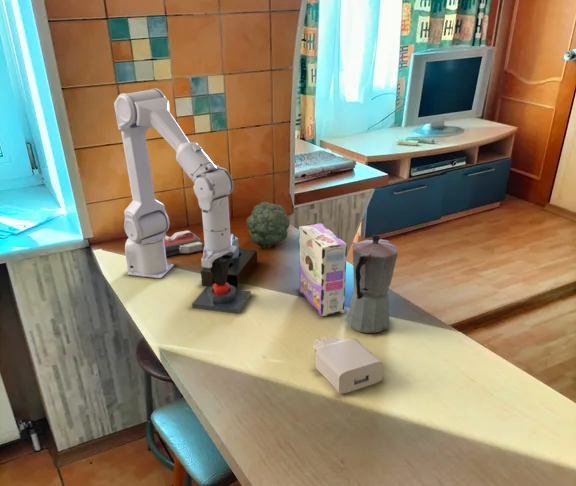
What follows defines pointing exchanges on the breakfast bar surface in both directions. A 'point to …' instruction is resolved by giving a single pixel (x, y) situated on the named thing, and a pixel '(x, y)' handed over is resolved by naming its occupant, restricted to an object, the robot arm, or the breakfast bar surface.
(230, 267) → the holder
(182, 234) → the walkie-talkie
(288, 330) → the breakfast bar surface
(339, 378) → the charger
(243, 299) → the grey button base
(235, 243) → the light blue tube
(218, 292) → the power button
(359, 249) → the moka pot
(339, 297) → the candy box
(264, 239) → the vegetable
